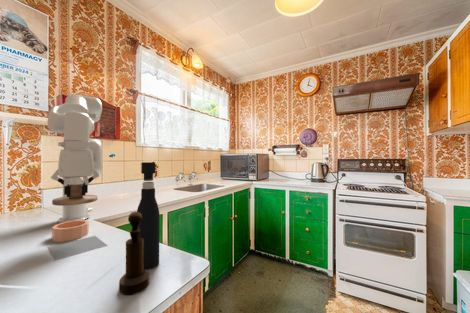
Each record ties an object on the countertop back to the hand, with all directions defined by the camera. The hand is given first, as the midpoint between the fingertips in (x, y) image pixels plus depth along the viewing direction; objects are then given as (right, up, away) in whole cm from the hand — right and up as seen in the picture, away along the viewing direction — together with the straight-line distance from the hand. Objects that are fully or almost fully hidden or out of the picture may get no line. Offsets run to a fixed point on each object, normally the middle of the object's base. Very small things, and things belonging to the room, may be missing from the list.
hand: (76, 195), depth 74 cm
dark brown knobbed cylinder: (+34, -17, -25) cm, 46 cm away
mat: (+4, -18, -4) cm, 18 cm away
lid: (0, -2, 0) cm, 2 cm away
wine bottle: (+33, -18, -15) cm, 40 cm away
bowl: (-7, -18, +6) cm, 20 cm away
